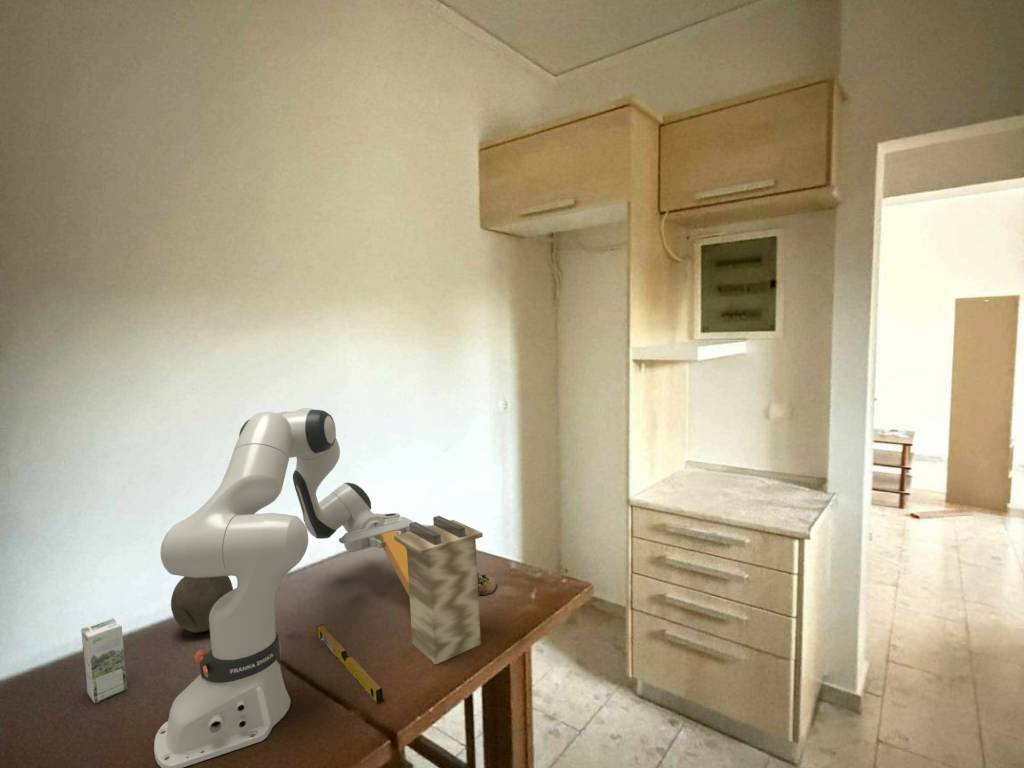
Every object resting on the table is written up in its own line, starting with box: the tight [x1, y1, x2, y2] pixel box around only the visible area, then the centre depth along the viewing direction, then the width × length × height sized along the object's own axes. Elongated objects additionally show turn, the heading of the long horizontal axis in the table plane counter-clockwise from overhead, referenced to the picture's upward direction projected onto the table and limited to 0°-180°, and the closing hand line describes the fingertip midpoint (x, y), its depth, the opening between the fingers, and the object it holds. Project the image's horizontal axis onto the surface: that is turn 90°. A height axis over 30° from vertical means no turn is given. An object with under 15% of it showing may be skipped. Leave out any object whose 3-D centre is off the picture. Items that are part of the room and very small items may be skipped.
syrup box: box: [80, 617, 128, 704], centre depth 109 cm, size 6×6×14 cm
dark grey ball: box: [170, 576, 234, 634], centre depth 134 cm, size 14×14×15 cm
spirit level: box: [316, 623, 384, 704], centre depth 116 cm, size 33×1×3 cm, turn 39°
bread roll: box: [477, 572, 497, 597], centre depth 151 cm, size 11×11×5 cm
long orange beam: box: [380, 531, 410, 598], centre depth 139 cm, size 4×20×3 cm, turn 38°
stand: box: [394, 515, 484, 666], centre depth 122 cm, size 16×13×28 cm
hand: (391, 542), depth 143 cm, fingers closed on long orange beam, 4 cm apart
